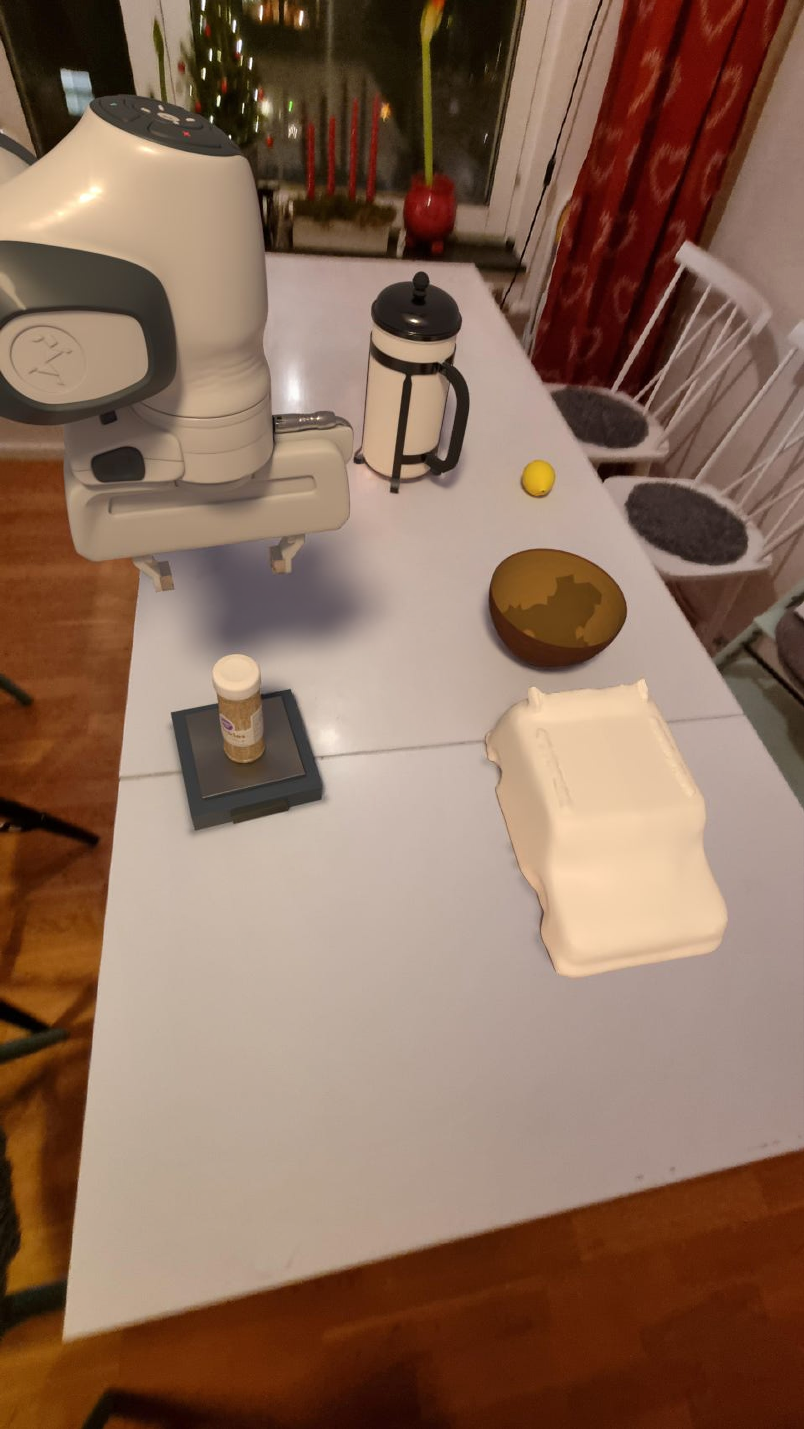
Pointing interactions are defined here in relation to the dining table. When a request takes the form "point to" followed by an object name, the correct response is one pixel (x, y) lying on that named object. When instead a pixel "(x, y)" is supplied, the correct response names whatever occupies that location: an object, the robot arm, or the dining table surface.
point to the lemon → (538, 477)
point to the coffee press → (412, 381)
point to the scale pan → (236, 777)
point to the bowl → (555, 607)
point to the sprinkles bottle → (240, 706)
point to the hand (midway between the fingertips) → (223, 577)
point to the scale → (252, 800)
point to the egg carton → (607, 829)
